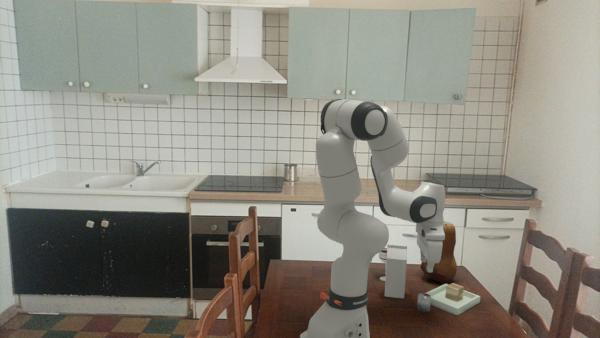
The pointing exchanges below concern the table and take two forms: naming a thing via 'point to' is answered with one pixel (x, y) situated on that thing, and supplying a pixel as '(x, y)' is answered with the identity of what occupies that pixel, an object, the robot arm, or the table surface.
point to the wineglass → (383, 260)
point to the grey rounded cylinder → (423, 302)
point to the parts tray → (450, 305)
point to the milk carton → (395, 271)
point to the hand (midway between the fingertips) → (426, 266)
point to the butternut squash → (444, 257)
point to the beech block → (454, 292)
